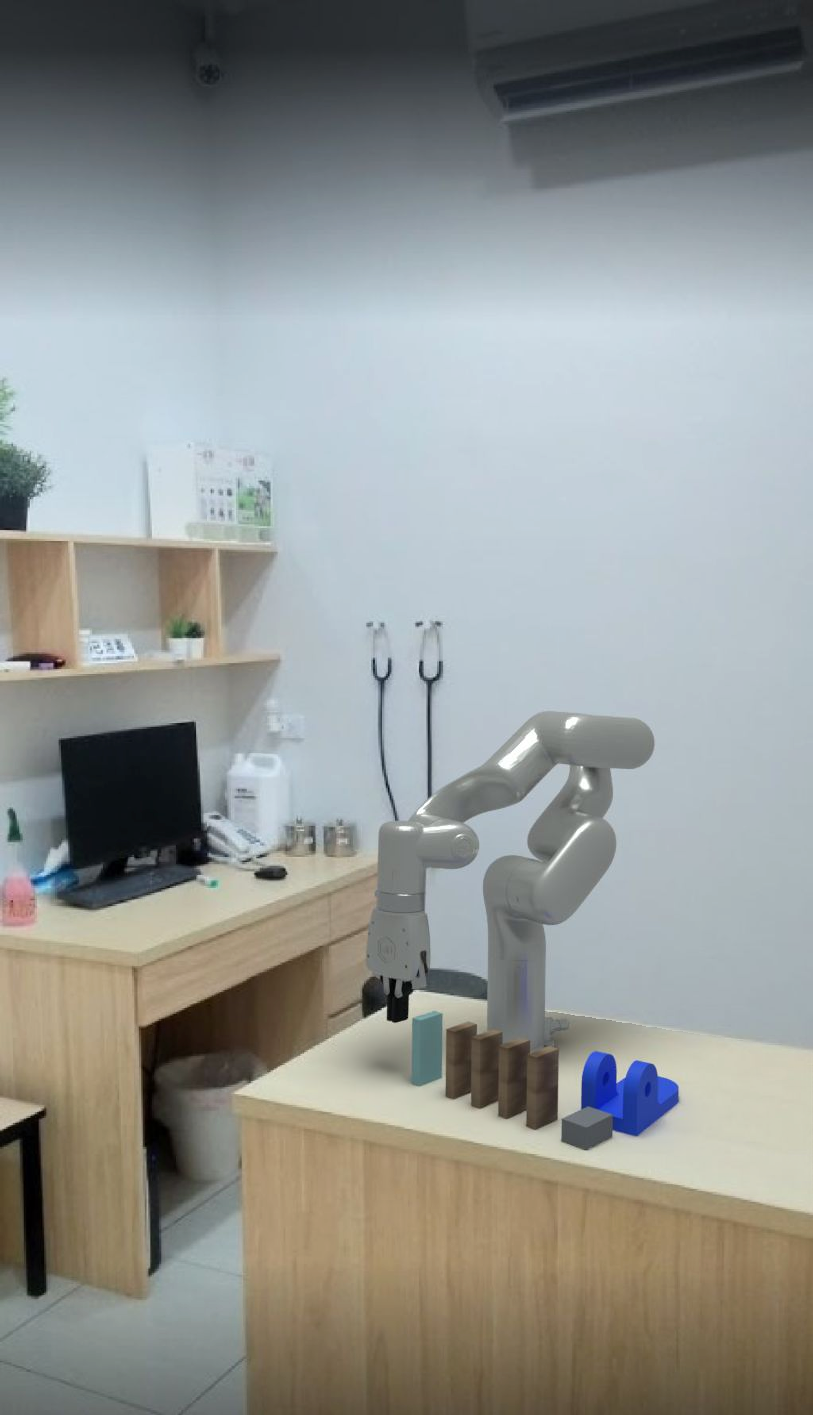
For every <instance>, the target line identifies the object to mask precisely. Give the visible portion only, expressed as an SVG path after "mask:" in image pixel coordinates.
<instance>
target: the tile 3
mask: <svg viewBox="0 0 813 1415" xmlns="http://www.w3.org/2000/svg"><path fill="white" fill-rule="evenodd" d="M486 1031H487V1030H486ZM486 1031H484V1032H485V1033H484V1032H482V1033H479V1034H477V1035H476V1036H473V1037H472V1052H471V1093H470V1106H471V1107H473V1108H475V1109H478V1110H481V1109H483V1108H485V1107H488V1106H490V1105H493V1104H496V1103H498V1086H499V1045H502V1044H503V1032H502V1031H499V1030H495V1029H493V1030H490V1031H487V1032H486Z"/></svg>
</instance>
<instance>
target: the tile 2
mask: <svg viewBox="0 0 813 1415" xmlns="http://www.w3.org/2000/svg"><path fill="white" fill-rule="evenodd" d="M445 1031H446V1032H445V1035H446V1036H445V1097H446V1098H449V1099H451V1100H453V1101H454V1100H456V1099H459V1098H461V1097H463V1096H466V1095H468V1094H471V1052H472V1037H473V1036H476V1035H478V1033H477V1032H478V1023H475V1022H471V1021H467V1022H464V1023H461V1024H458V1025H454V1026H451V1027H448V1028H445Z"/></svg>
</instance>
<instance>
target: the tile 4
mask: <svg viewBox="0 0 813 1415" xmlns="http://www.w3.org/2000/svg"><path fill="white" fill-rule="evenodd" d="M527 1054H530V1040H528V1039H525V1038H522V1037H521V1038H518V1039H516V1040H513V1041H510V1042H508V1043H505V1044H502V1045H499V1086H498V1101H497V1117H499V1118H502V1119H505V1120H508V1119H511V1118H514V1117H515V1116H517V1115H521V1114H522V1113H524V1112H527Z"/></svg>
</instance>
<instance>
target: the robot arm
mask: <svg viewBox="0 0 813 1415" xmlns="http://www.w3.org/2000/svg"><path fill="white" fill-rule="evenodd" d="M655 743H656V742H655V737H654V734H653V731H652V729H651V727H650V726H648V724H647V723H646V722H644V721H643V720H641V719H639V718H636V717H624V716H623V717H621V716H611V715H610V716H608V715H593V714H586V713H579V712H568V711H567V712H566V711H565V712H564V711H551V710H550V711H549V710H547V711H541V712H537V713H535V714H534V715H532V716H531V717H530V718H529V719H527V720H526V722H524V723H523V725H522V726H520V728H518V729H517V730H516V731H515V732H514V734H511V736H510V738H508V739H507V740H506V742H505V743H503V744H502V745H501V746H500V747H499V749H498V750H496V752H494V753H493V754H492V756H490V758H488V759H487V760H486V761H485V762H484V763H483V764H482V765H480V766H478V767H477V768H474V769H473V770H470V771H468V772H466V773H465V774H463V775H462V776H460V777H458V778H456V779H454V780H453V781H451V782H449V783H447V784H445V785H443V786H442V787H441V788H440V789H438V790H436V791H435V792H434V793H432V795H431V796H429V798H427V799H426V800H425V801H424V802H423V803H422V804H421V805H420V806H419V807H418V808H417V809H416V810H415V811H414V813H413V814H412V815H411V816H410V817H409V819H408V820H391V821H386V822H383V823H382V824H381V825H380V827H379V830H378V840H377V841H378V844H377V873H376V874H377V878H376V882H377V883H376V890H375V892H374V897H375V898H376V906H375V907H373V908H372V912H371V915H370V920H369V924H368V929H367V930H368V931H367V941H366V949H365V950H366V951H365V952H366V953H365V966H366V968H367V970H368V971H370V972H371V973H372V976H374V977H376V978H377V979H378V980H380V982H381V983H382V985H383V992H384V994H385V995H387V996H386V1021H388V1022H392V1023H394V1024H397V1023H400V1022H405V1021H407V1020H409V1012H410V1011H409V1010H410V1009H409V1008H410V1006H409V1005H410V996H411V995H412V994H413V992H414V991H415V990H420V989H421V990H422V989H425V988H427V984H428V983H427V979H426V977H428V976H429V973H430V970H431V936H430V935H431V934H430V925H429V918H428V913H427V912H426V898H427V897H426V895H427V894H426V892H427V891H426V889H427V887H426V886H427V869H429V868H432V869H444V870H458V869H462V868H465V867H467V866H469V865H470V864H472V862H473V861H474V860H475V858H477V855H478V854H479V851H480V840H479V837H478V835H477V833H476V832H475V830H474V829H473V828H472V827H470V826H469V825H468V824H466V823H465V822H467V821H468V820H470V819H473V818H474V817H477V816H479V815H481V814H484V813H488V812H492V811H496V810H501V809H505V808H507V807H511V806H514V805H517V804H519V803H520V802H522V801H523V800H524V799H525V798H526V797H527V796H528V795H529V794H530V792H531V791H533V790H534V788H535V787H536V786H537V785H538V784H539V783H540V782H541V781H542V780H543V779H544V778H545V776H547V775H548V774H549V773H550V772H551V771H552V770H553V769H554V767H556V766H557V765H567V766H569V774H568V776H567V780H566V781H565V784H564V785H563V786H562V788H561V789H560V791H559V792H558V793H557V794H556V795H555V797H554V798H553V799H552V801H551V802H550V803H548V805H547V807H546V808H544V811H543V812H542V813H541V814H540V815H539V816H538V818H537V819H536V820H535V822H534V823H533V825H532V826H531V827H530V829H529V832H528V835H527V840H526V841H527V842H526V843H527V848H528V850H529V852H530V854H532V855H533V857H534V858H530V857H527V856H522V855H517V854H516V855H515V854H513V855H512V854H511V855H510V854H508V855H504V856H500V857H499V858H496V859H495V860H493V861H492V862H491V863H490V864H489V865H488V866H487V868H486V870H485V873H484V874H483V875H484V877H483V879H482V896H483V901H484V906H485V914H486V922H487V987H486V988H487V996H486V999H487V1001H486V1002H487V1005H486V1006H487V1008H486V1009H487V1010H486V1031H484V1032H483V1033H485V1032H487V1031H490V1030H493V1029H495V1030H499V1031H502V1032H503V1044H505V1043H508V1042H510V1041H513V1040H516V1039H518V1038H521V1037H522V1038H525V1039H528V1040H530V1053H532V1052H535V1051H538V1050H540V1049H543V1048H545V1047H548V1046H552V1047H555V1041H554V1039H553V1037H551V1035H553V1034H554V1033H555V1032H563V1031H567V1030H569V1028H570V1022H569V1020H568V1018H566V1017H564V1018H558V1019H554V1018H553V1017H552V1016H547V1017H546V971H547V970H546V966H547V965H546V959H547V957H546V956H547V939H546V933H545V927H544V925H546V926H557V925H561V924H562V923H565V922H566V921H568V920H569V918H571V917H572V916H573V915H574V914H575V913H576V912H577V911H578V909H579V908H580V907H581V906H582V904H583V903H584V901H585V900H586V899H587V897H588V896H589V895H590V894H591V893H592V891H593V890H594V889H595V887H596V886H597V885H598V883H600V881H601V880H602V878H603V877H604V875H605V874H606V873H607V871H608V870H609V869H610V866H612V862H613V860H614V858H615V854H616V850H617V837H616V833H615V830H614V828H613V827H612V825H611V824H610V823H609V821H607V820H606V819H604V818H605V816H606V814H607V813H608V811H609V809H610V807H611V804H612V802H613V798H614V788H613V785H614V784H613V778H612V770H611V769H620V770H621V769H622V770H623V769H624V770H634V769H637V768H640V767H643V766H644V765H645V764H646V763H647V762H648V761H649V760H650V759H651V758H652V755H653V754H654V750H655ZM535 858H536V859H535Z"/></svg>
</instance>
